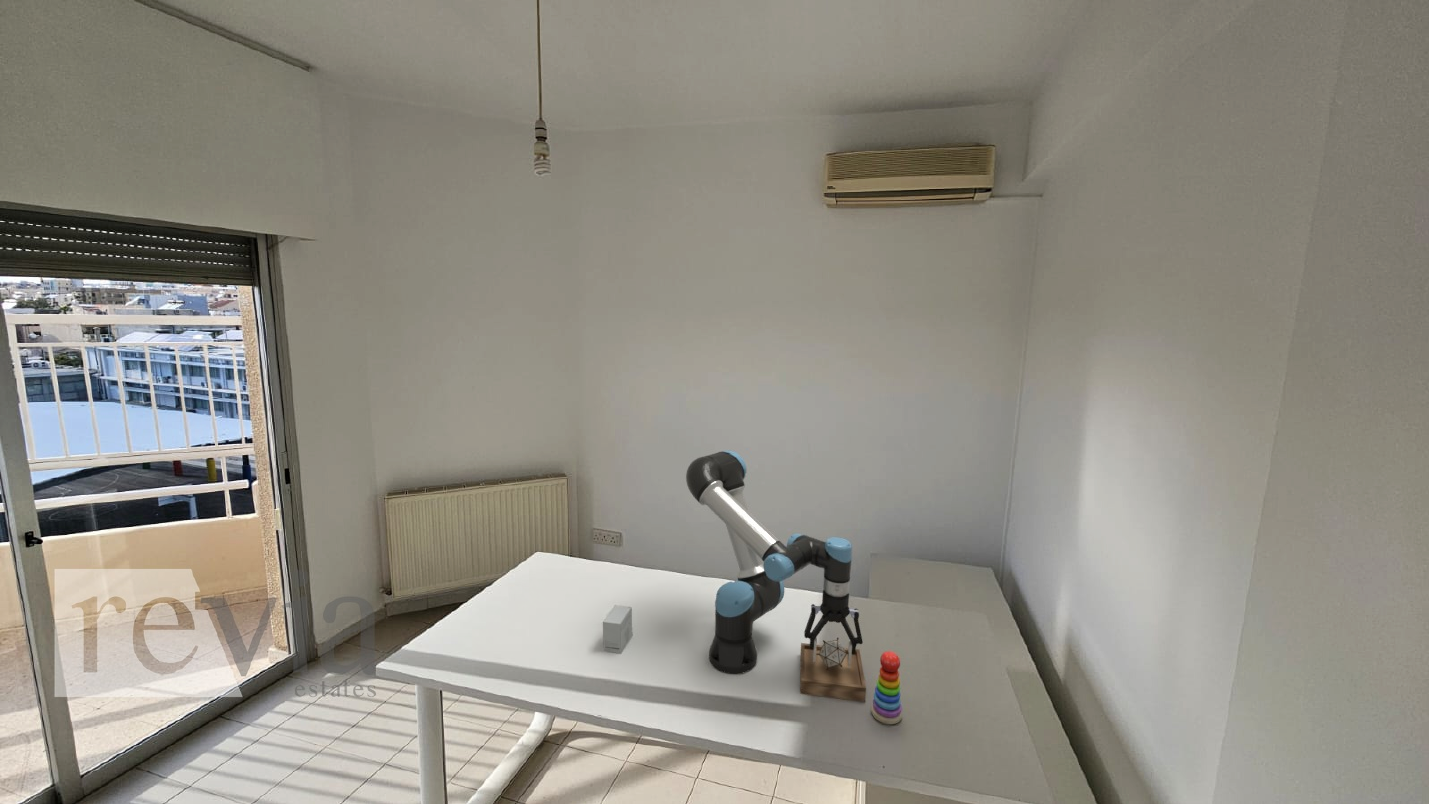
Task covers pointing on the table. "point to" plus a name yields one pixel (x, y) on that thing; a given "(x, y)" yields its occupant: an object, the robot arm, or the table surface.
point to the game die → (832, 653)
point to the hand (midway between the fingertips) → (831, 661)
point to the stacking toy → (888, 691)
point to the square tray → (832, 676)
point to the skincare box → (617, 629)
